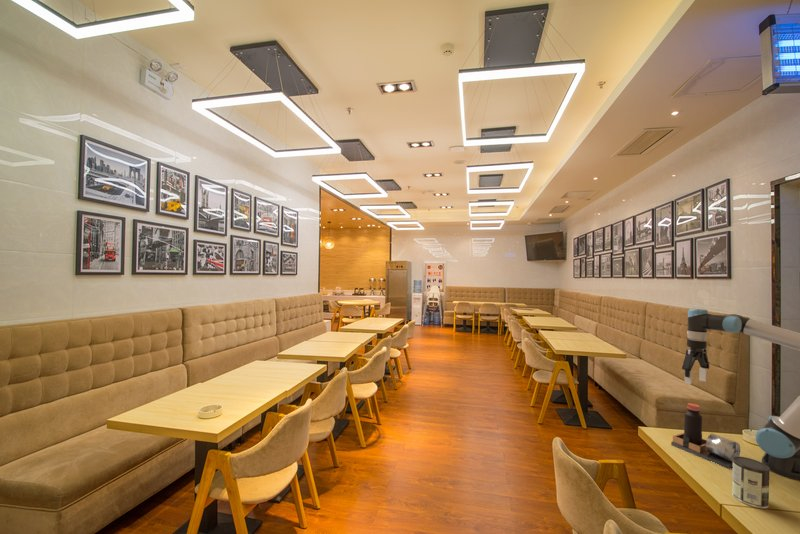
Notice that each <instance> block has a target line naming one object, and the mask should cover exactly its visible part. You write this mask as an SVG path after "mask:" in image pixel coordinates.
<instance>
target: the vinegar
mask: <svg viewBox="0 0 800 534" xmlns="http://www.w3.org/2000/svg"><path fill="white" fill-rule="evenodd" d="M686 407H687V411H686V412H684V423H683V424H684V426H683V433H684V436H686V437H689V438H690V442H691V443H694V444H696V445H699V446H700V445H701V443H702V439H703V416H702V415H701V414H700V412H701V406H700V405H699V404H696V403H691V402H688V403H687V405H686Z"/></svg>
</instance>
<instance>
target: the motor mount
mask: <svg viewBox="0 0 800 534" xmlns="http://www.w3.org/2000/svg"><path fill="white" fill-rule="evenodd" d="M670 444H671V446H673V447H675V448H678V449H681V450H683V451H685V452H687V453H690V454H692V455H695V456H697V457H699V458H701V457H702V459H703V460H706V459H707V460H706V461H709V462H711V461H712V463H713V462H715V463H714V464H716V463H717V464H716V465H718V464H719V465H718V466H720V465H721V467H723V466H724V467H723V468H725V467H726V468H725V469H728V468H730V469H733V468H732V467H733V460H732V458H733V457H735V456H740V455H741V446H740V443H739V442H737V441H734V440H732V439H729V438H725V437H724V436H720V435H718V434H715V433H710V434H709V435H708V437H707V439H704V438H702V443H701V445H700V446H699V445H696V444H694V443H691V442H690V438H689V437H686V436H684V432H682V433H679V434H675V435H672V441H671V443H670ZM740 457H741V456H740Z"/></svg>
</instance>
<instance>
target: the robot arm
mask: <svg viewBox="0 0 800 534" xmlns="http://www.w3.org/2000/svg"><path fill="white" fill-rule="evenodd" d="M708 330H709V331H710V330H712V331H717V332H718V331H719V332H725V333H734V334H736V333H741V334H745V335H747V336H751V337H754V338H757V339H760V340H764V341H768V342H770V343H773V344H777V345H780V346H783V347H786V348H789V349H793V350H795V351H798V352H800V332H797V331H794V330H790V329H786V328H783V327H779V326H776V325H772V324H769V323H765V322H762V321H758V320H755V319H751V318H747V317H744V316H743V315H740V314H736V313H735V314H723V315H722V314H712V313H709V311H708V310H707V309H704V308H690V309H689V310H688V311H687V331H686V334H687V339H686V347H688V348H690V349H686V350H685V356H684V359H683V363H682V366H681V369H682V370H684V381H683V382H684V384H687V385H689V386H690V385H693V384H692V383H693V382H692V381H693V371H692V369H693V367H694V365H695V362H696V361H698V364H699V366H700V367H699V373H698V374H699V375H698V380H699V381H700V382H705V383H706V382H707V373H708V372H707V369H708V370H709V369H710V362H709V358H708V354H707V346H708V345H707V341H708ZM754 439H755V441H756V444H757V446H758V447H759V448H760V449H761V450H762V451H763V452H764V454H763V455H762V457H761V463H763V464H765V465H767V466H768V467H769V468H770V472H772V473H775V474H777V475H779V476H782V477H785V478H789V479H793V480H797V481H800V394H799V396H797V398H795V399H794V401H793V402H792V403H791V404H790V405H789V406H788V408H787V409H785V410H784V412H783V413H781V415H780V416H777V415H769V417H768V419H767V422H766V423H765V424H764V426H763V427H761V428H760V429H758V430H757V431H756V432H755V438H754Z"/></svg>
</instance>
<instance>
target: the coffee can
mask: <svg viewBox="0 0 800 534" xmlns="http://www.w3.org/2000/svg"><path fill="white" fill-rule="evenodd" d="M732 460H733V468H732V470H731V471H732V476H731V477H732V478H731V479H732V481H731V496H732V497H733V498H734V499H735V500H737V501H739V502H741V503H742V504H745V505H747V506H750V507H752V508H753V507H754V508H757V509H763V510H765V509H769V507H770V505H769V504H770V503H769V502H770V501H769V500H770V497H769V496H770V472H771V471H770V468H769V467H768V466H767V465H765V464H763V463H762V461H759V460H756V459H754V458H750V457H744V456H735V457H733V458H732Z"/></svg>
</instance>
